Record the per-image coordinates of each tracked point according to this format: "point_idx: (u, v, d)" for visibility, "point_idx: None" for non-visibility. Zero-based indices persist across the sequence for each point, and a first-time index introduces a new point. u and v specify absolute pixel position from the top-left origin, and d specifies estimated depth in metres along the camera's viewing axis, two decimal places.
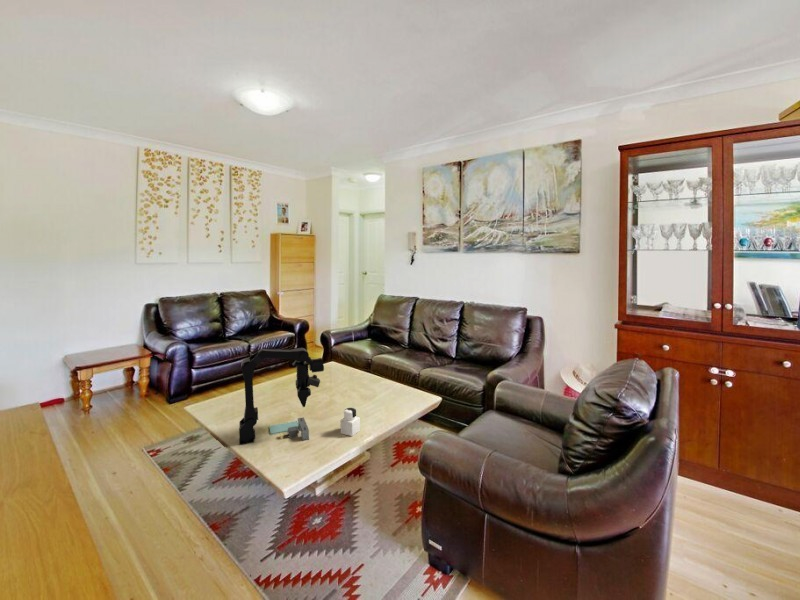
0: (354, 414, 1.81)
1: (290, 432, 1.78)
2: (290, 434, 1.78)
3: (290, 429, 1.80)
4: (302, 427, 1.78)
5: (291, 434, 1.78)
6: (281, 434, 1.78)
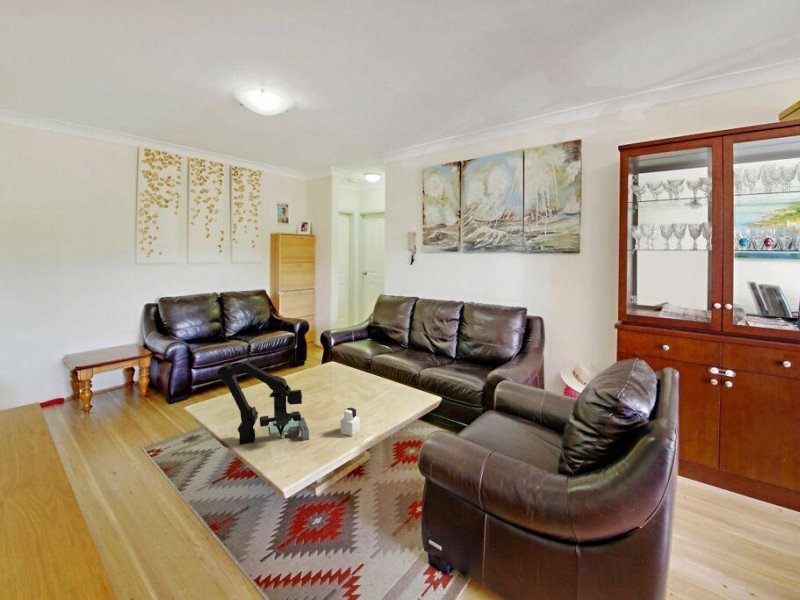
0: (354, 414, 1.81)
1: (291, 432, 1.78)
2: (291, 434, 1.78)
3: (291, 429, 1.80)
4: (302, 427, 1.78)
5: (293, 433, 1.79)
6: (282, 434, 1.78)
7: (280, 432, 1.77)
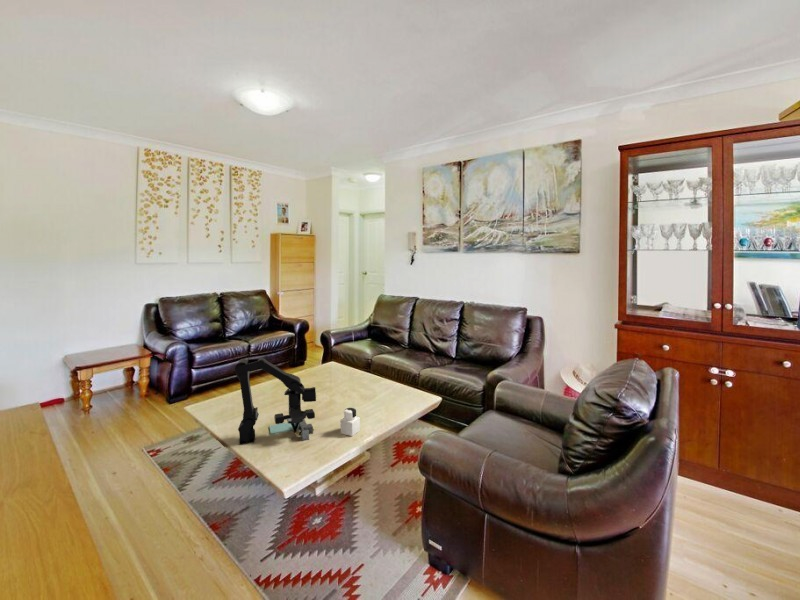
0: (354, 414, 1.81)
1: None
2: None
3: None
4: (302, 427, 1.78)
5: None
6: (297, 431, 1.81)
7: (294, 429, 1.80)
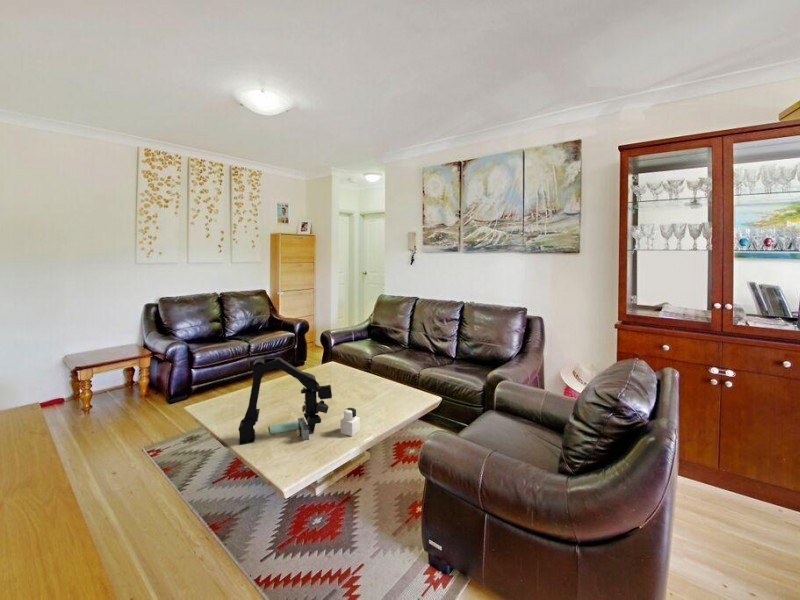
0: (354, 414, 1.81)
1: None
2: None
3: None
4: (302, 427, 1.78)
5: None
6: (297, 431, 1.81)
7: None
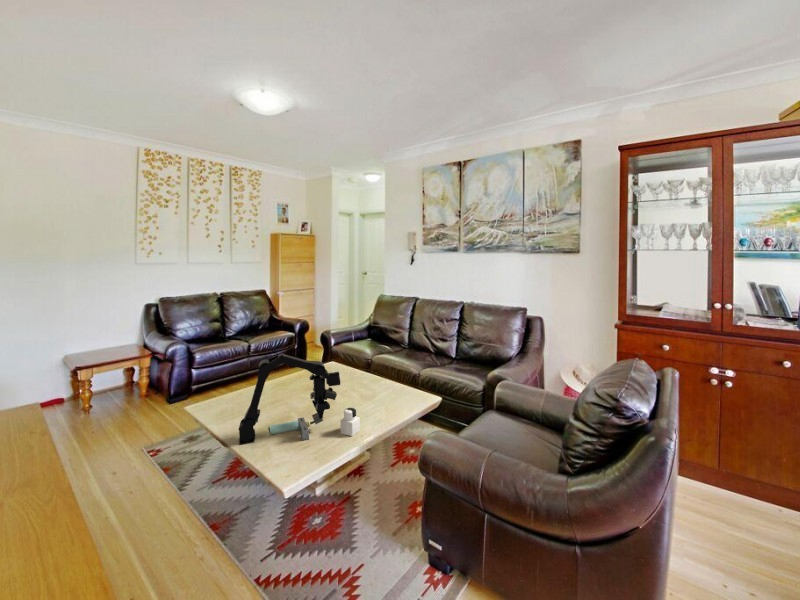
0: (354, 414, 1.81)
1: (314, 419, 1.82)
2: (315, 420, 1.82)
3: (314, 416, 1.84)
4: (302, 427, 1.78)
5: (316, 420, 1.83)
6: (307, 423, 1.83)
7: None
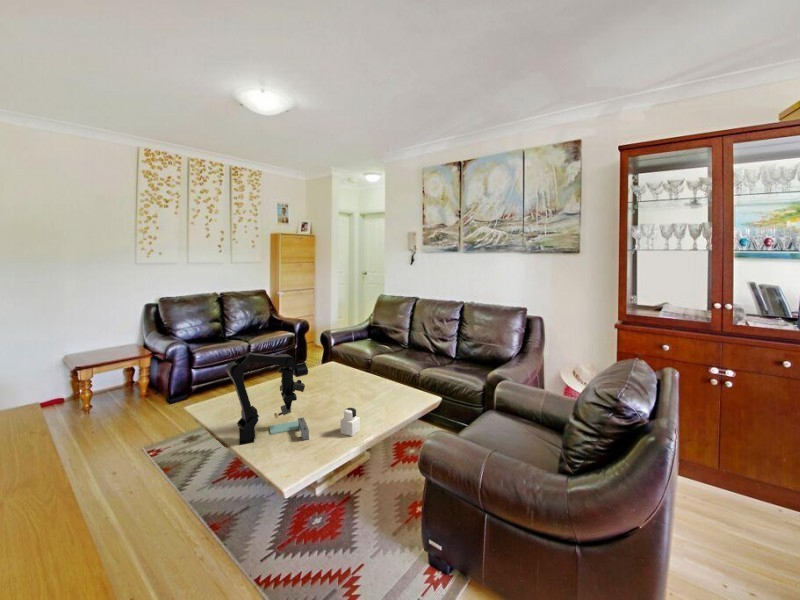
0: (354, 414, 1.81)
1: (282, 410, 1.85)
2: (283, 412, 1.85)
3: (282, 407, 1.87)
4: (302, 427, 1.78)
5: (284, 411, 1.86)
6: (275, 414, 1.86)
7: None
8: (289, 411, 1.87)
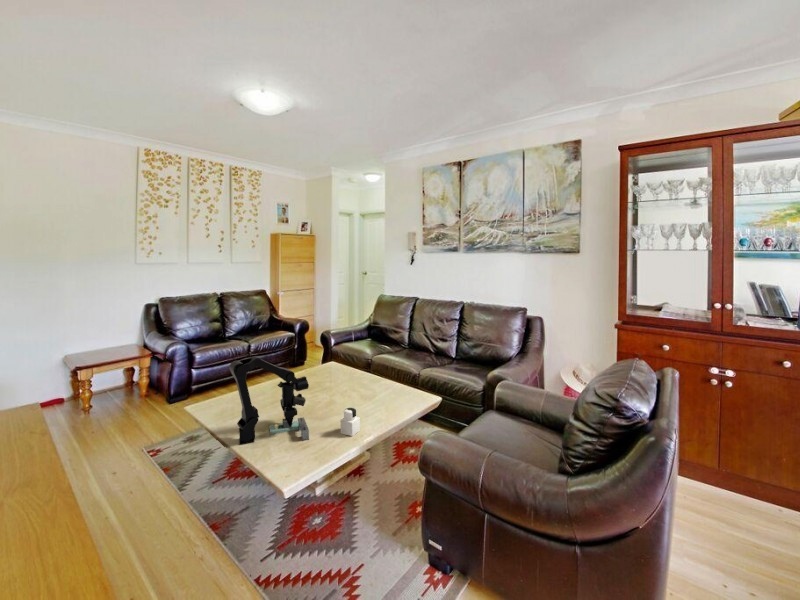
0: (354, 414, 1.81)
1: (284, 423, 1.86)
2: (284, 425, 1.86)
3: (284, 420, 1.88)
4: (302, 427, 1.78)
5: (286, 424, 1.87)
6: (276, 425, 1.87)
7: None
8: (290, 426, 1.88)
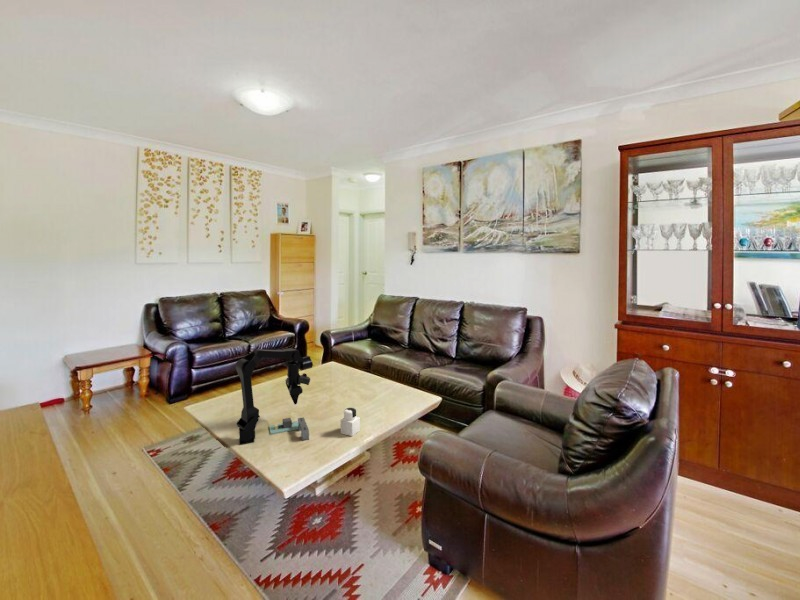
0: (354, 414, 1.81)
1: (284, 423, 1.86)
2: (284, 425, 1.86)
3: (284, 420, 1.88)
4: (302, 427, 1.78)
5: (286, 424, 1.87)
6: (276, 425, 1.87)
7: None
8: (290, 426, 1.88)
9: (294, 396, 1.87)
